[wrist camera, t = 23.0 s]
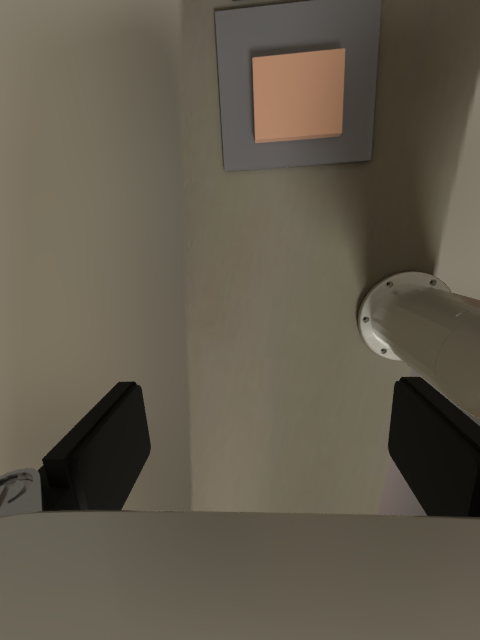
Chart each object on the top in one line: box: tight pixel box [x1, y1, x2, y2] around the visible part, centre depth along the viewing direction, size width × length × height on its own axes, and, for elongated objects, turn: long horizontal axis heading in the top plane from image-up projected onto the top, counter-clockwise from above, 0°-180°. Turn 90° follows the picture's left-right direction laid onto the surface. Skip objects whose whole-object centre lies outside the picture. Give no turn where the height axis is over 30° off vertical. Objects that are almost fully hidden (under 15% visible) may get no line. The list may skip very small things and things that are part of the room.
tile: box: [252, 48, 345, 143], centre depth 32 cm, size 10×1×8 cm
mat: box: [215, 0, 382, 171], centre depth 33 cm, size 18×16×1 cm
